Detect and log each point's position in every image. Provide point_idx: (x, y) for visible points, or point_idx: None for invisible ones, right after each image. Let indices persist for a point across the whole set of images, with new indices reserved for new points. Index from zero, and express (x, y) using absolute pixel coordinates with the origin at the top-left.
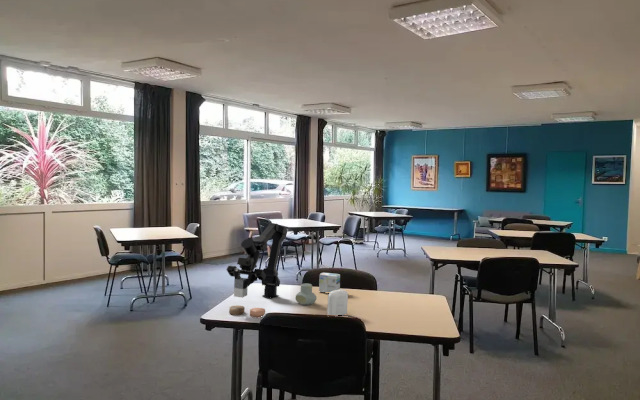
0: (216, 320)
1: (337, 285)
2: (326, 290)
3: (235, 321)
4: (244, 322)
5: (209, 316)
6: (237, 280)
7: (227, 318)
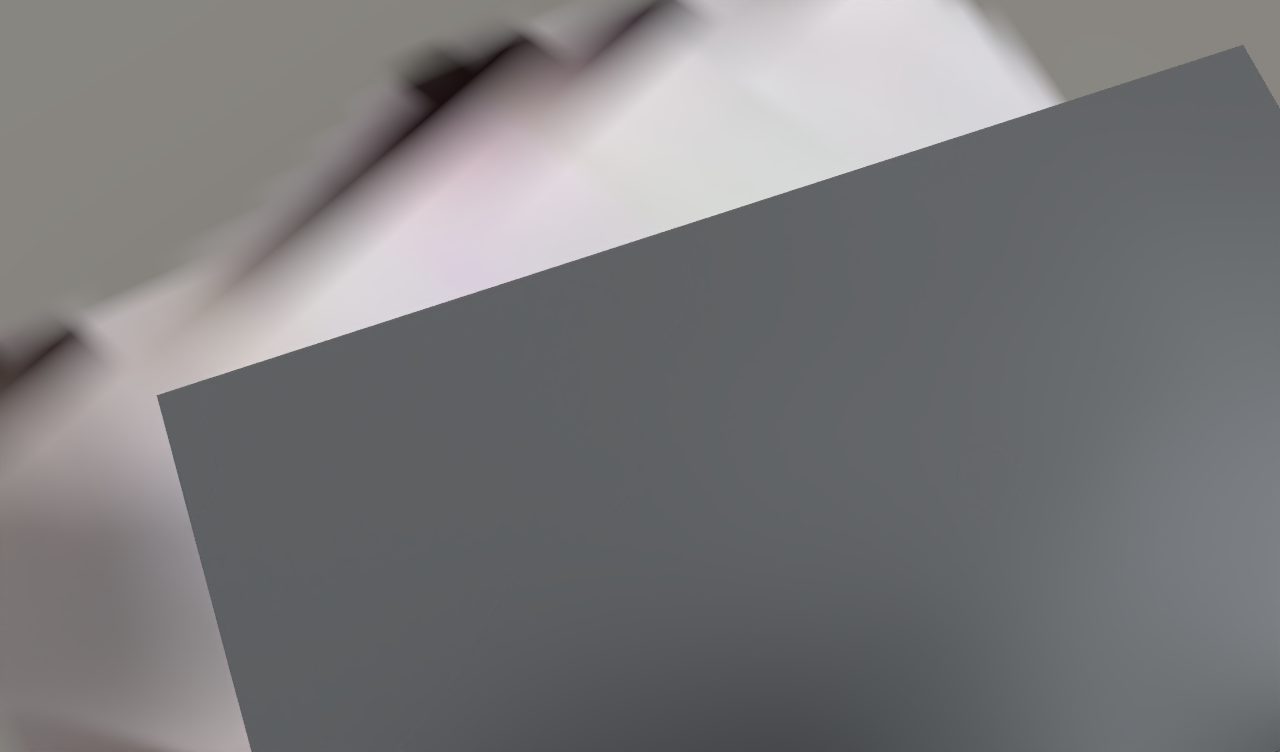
0: (621, 7)
1: None
2: None
3: (257, 236)
4: (37, 333)
5: (949, 66)
6: (882, 197)
7: (560, 245)
